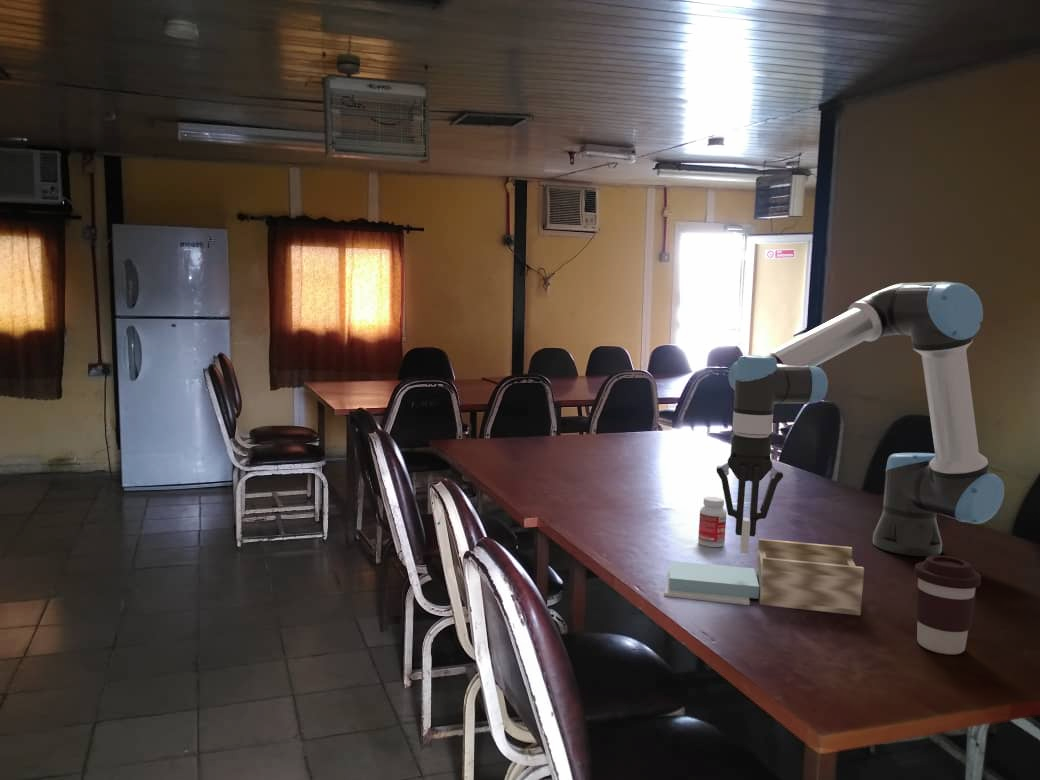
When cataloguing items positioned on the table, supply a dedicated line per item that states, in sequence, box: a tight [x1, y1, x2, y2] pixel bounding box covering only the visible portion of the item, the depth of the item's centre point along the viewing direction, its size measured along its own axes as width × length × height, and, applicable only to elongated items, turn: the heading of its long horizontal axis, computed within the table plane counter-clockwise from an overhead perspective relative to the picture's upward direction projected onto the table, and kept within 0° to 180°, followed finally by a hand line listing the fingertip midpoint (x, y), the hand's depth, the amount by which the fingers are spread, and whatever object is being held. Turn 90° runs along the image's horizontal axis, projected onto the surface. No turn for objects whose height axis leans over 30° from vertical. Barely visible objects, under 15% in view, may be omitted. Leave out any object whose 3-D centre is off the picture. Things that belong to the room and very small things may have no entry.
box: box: [755, 538, 865, 616], centre depth 161 cm, size 18×14×9 cm
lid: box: [669, 560, 759, 600], centre depth 165 cm, size 17×11×2 cm, turn 79°
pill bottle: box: [697, 496, 727, 548], centre depth 195 cm, size 6×6×11 cm
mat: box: [663, 567, 751, 606], centre depth 166 cm, size 16×16×1 cm
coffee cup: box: [914, 554, 982, 655], centre depth 139 cm, size 10×10×15 cm
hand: (744, 551), depth 164 cm, fingers closed
